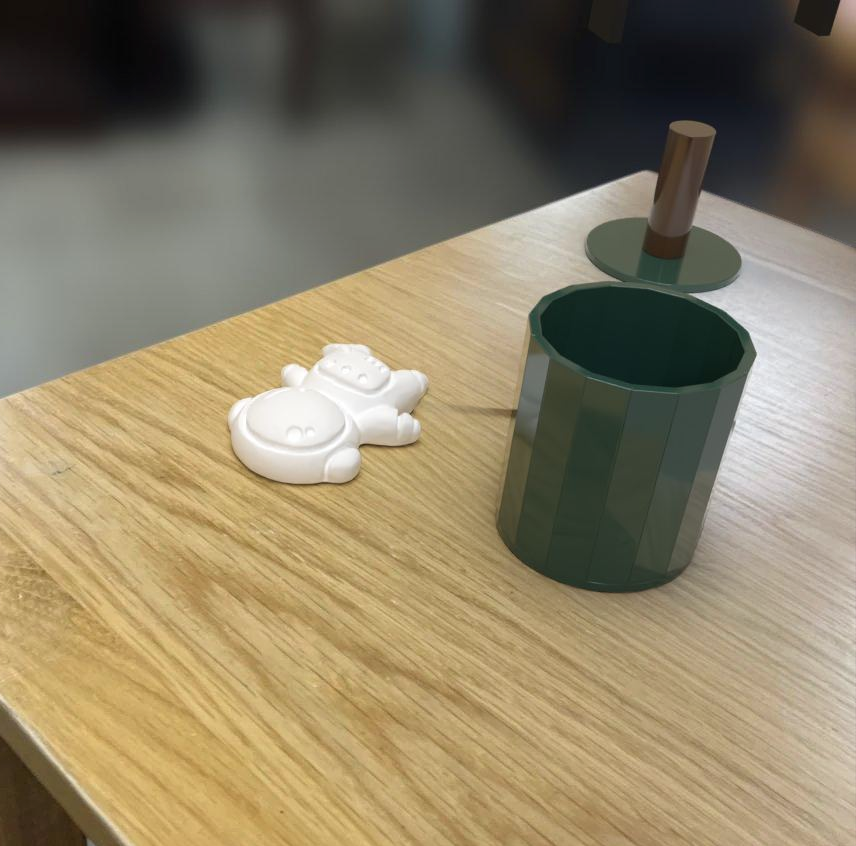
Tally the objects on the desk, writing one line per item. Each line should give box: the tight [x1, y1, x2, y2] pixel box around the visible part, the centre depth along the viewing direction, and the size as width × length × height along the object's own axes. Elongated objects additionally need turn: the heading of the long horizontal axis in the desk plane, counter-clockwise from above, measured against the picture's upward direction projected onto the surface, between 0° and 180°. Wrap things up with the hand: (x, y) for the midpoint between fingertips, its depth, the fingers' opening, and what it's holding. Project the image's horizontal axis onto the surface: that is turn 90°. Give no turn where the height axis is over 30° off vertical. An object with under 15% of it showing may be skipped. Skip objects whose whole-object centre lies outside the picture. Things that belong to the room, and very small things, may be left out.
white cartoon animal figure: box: [227, 343, 430, 485], centre depth 63 cm, size 9×12×3 cm
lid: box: [584, 120, 743, 293], centre depth 78 cm, size 10×10×9 cm
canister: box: [495, 280, 758, 593], centre depth 55 cm, size 9×9×10 cm
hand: (709, 33), depth 72 cm, fingers open, 13 cm apart
